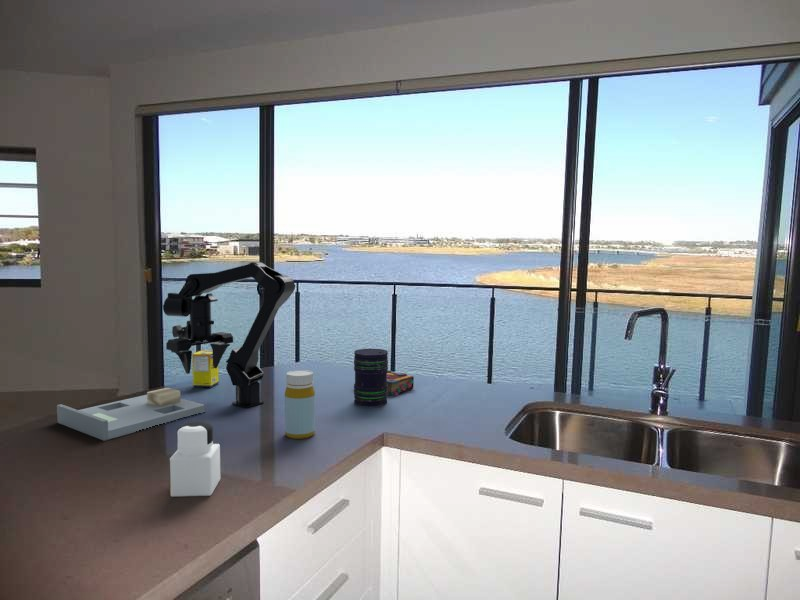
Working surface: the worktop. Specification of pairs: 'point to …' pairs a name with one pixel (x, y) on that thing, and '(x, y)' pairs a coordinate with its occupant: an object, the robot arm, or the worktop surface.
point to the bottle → (299, 404)
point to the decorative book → (398, 383)
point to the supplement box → (204, 370)
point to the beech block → (163, 397)
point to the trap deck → (124, 416)
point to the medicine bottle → (195, 461)
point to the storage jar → (370, 377)
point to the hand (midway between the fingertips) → (201, 370)
